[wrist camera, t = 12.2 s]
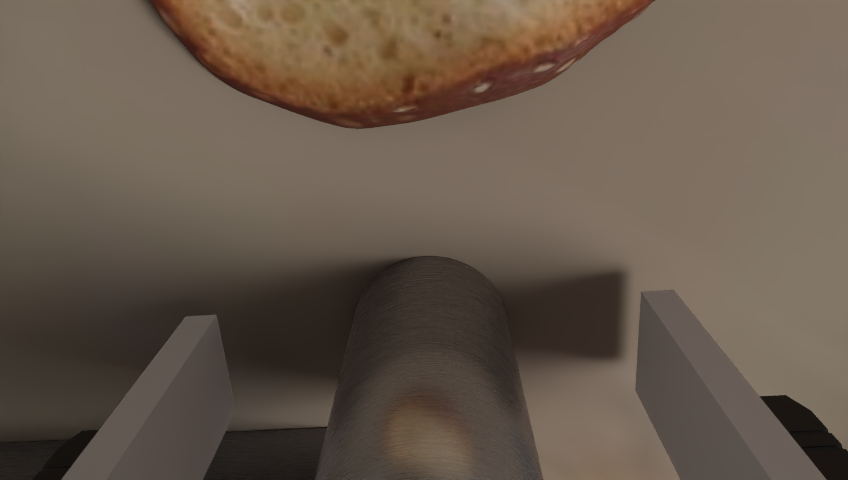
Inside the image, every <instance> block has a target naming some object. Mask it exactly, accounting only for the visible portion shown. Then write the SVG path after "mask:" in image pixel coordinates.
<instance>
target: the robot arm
mask: <svg viewBox="0 0 848 480" xmlns="http://www.w3.org/2000/svg"><path fill="white" fill-rule="evenodd" d="M635 390H636V392H637V394H638V396H639V398H640V400H641V402H642V404H643V406H644V408H645V410H646V412H647V414H648V416H649V418H650V420H651V422H652V424H653V426H654V428H655V430H656V432H657V434H658V436H659V438H660V440H661V442H662V444H663V446H664V448H665V450H666V452H667V453H668V455H669V457H670V459H671V461H672V463H673V465H674V467H675V469H676V471H677V473H678V475H679V477H680V479H681V480H848V451H847V450H846V449H843V448H842V445H841V443H840V442H839V441H838V440H837V439H836V438H835V437H834V436H833V435H832V433H828V429H827V428H826V427H825V426H824V425H823V423H822V422H821V421H820V420H819V419H818V418H817V417H816V416H815V415H814V413H813V412H812V411H811V410H809V409H807V408H806V407H804V406H802V405H801V404H799V403H798V402H796V401H794V400H793V399H791V398H789V397H788V396H786V395H779V396H759V395H758V394H757V393H756V391H755V390H754V389H753V388H752V387H751V385H750V384H749V383H748V382H747V380H746V379H745V378H744V377H743V375H742V374H741V373H740V372H739V370H738V369H737V368H736V367H735V365H734V364H733V363H732V362H731V360H730V359H729V358H728V357H727V355H726V354H725V353H724V352H723V350H722V349H721V348H720V347H719V346H718V344H717V343H716V342H715V341H714V339H713V338H712V337H711V336H710V334H709V333H708V332H707V331H706V329H705V328H704V327H703V326H702V324H701V323H700V322H699V321H698V319H697V318H696V317H695V316H694V314H693V313H692V312H691V311H690V309H689V308H688V307H687V306H686V305H685V303H684V302H683V301H682V300H681V298H680V297H679V296H678V295H677V293H676V292H675V291H674V290H662V291H644V292H641V302H640V319H639V337H638V354H637V371H636V389H635ZM235 411H236V408H235V403H234V398H233V393H232V388H231V383H230V378H229V373H228V368H227V363H226V358H225V353H224V348H223V344H222V339H221V334H220V329H219V324H218V319H217V315H201V316H186V317H185V318H184V319H183V321H182V322H181V323H180V324H179V326H178V327H177V328H176V330H175V331H174V332H173V334H172V335H171V336H170V338H169V339H168V340H167V342H166V343H165V344H164V345H163V347H162V348H161V349H160V351H159V352H158V353H157V355H156V356H155V357H154V359H153V360H152V361H151V363H150V364H149V365H148V366H147V368H146V369H145V370H144V372H143V373H142V374H141V376H140V377H139V378H138V380H137V381H136V382H135V384H134V385H133V386H132V387H131V389H130V390H129V391H128V393H127V394H126V395H125V397H124V398H123V399H122V401H121V402H120V403H119V405H118V406H117V407H116V408H115V410H114V411H113V412H112V414H111V415H110V416H109V418H108V419H107V420H106V422H105V423H104V424H103V425H102V427H101V428H100V429H99V430H88V431H81V432H80V433H78V434H77V435H76V436H74V437H73V438H72V439H70V440H69V441H67V442H66V443H65V444H63V445H62V446H61V447H59V448H58V449H57V450H56V452H55V453H54V454H53V455H52V456H51V458H50V459H49V460H48V461H47V463H46V464H45V465H44V466H43V467H42V471H39V472H38V474H37V475H36V476H35V477H34V478H33V480H203V478H204V476H205V474H206V472H207V470H208V468H209V466H210V463H211V461H212V459H213V457H214V455H215V453H216V451H217V449H218V447H219V444H220V442H221V440H222V438H223V436H224V434H225V432H226V430H227V427H228V425H229V423H230V421H231V419H232V417H233V415H234V413H235Z"/></svg>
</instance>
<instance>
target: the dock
mask: <svg viewBox="0 0 848 480" xmlns="http://www.w3.org/2000/svg"><path fill="white" fill-rule="evenodd" d="M326 430H327V428H312V429H291V430H270V431H249V432H228V433H225V434H224V436H223V438H222V440H221V442H220V444H219V447H218V449H217V451H216V453H215V455H214V457H213V459H212V461H211V463H210V466H209V468H208V470H207V472H206V474H205V476H204V478H203V480H314V479H315V475H316V471H317V467H318V463H319V459H320V454H321V450H322V446H323V442H324V438H325V434H326ZM67 441H69V440H59V441H38V442H16V443H0V480H33V478H34V477H35V476H36V475H37V474H38V472H39V471H42V467H43V466H44V465H45V464H46V463H47V461H48V460H49V459H50V458H51V456H52V455H53V454H54V453H55V452H56V450H57V449H58V448H59V447H61V446H62V445H63V444H65V443H66V442H67Z"/></svg>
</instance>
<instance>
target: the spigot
mask: <svg viewBox="0 0 848 480" xmlns="http://www.w3.org/2000/svg"><path fill="white" fill-rule="evenodd" d="M314 480H543V476H542V472H541V467H540V463H539V458H538V454H537V449H536V445H535V441H534V436H533V432H532V427H531V423H530V418H529V414H528V409H527V405H526V400H525V396H524V391H523V387H522V383H521V378H520V374H519V369H518V365H517V360H516V356H515V351H514V347H513V342H512V338H511V334H510V329H509V325H508V320H507V316H506V312H505V308H504V304H503V302H502V299H501V297H500V295H499V294H498V292H497V290H496V289H495V287H494V286H493V285H492V284H491V282H490V281H489V280H488V279H487V278H486V277H485V276H484V275H483V274H481V273H480V272H478V271H477V270H476V269H474V268H472V267H470V266H469V265H467V264H465V263H462V262H459V261H457V260H453V259H449V258H444V257H436V256H424V257H416V258H411V259H407V260H404V261H401V262H398V263H396V264H394V265H392V266H390V267H388V268H386V269H385V270H384V271H382V272H381V273H379V274H378V275H377V276H376V277H375V278H374V279H373V280H372V281H371V282H370V283H369V284H368V286H367V287H366V288H365V290H364V291H363V293H362V295H361V297H360V299H359V301H358V304H357V307H356V311H355V315H354V319H353V323H352V327H351V331H350V336H349V340H348V344H347V348H346V352H345V356H344V360H343V364H342V368H341V372H340V377H339V381H338V385H337V389H336V393H335V397H334V401H333V405H332V409H331V413H330V418H329V422H328V426H327V430H326V434H325V438H324V442H323V446H322V450H321V454H320V459H319V463H318V467H317V471H316V475H315V479H314Z"/></svg>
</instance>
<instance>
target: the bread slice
mask: <svg viewBox="0 0 848 480" xmlns="http://www.w3.org/2000/svg"><path fill="white" fill-rule="evenodd" d="M654 1H655V0H150V2H151V4H152V5H153V6H154V8H155V9H156V11H157V12H158V14H159V15H160V16H161V18H162V19H163V20H164V22H165V23H166V24H167V26H168V27H169V28H170V29H171V30H172V32H173V33H174V34H175V35H176V36H177V37H178V38H179V39H180V41H181V42H182V43H183V44H184V45H185V46H186V47H187V49H188V50H189V51H190V52H191V53H192V54H193V55H194V57H195V58H196V59H197V60H198V61H199V62H200V63H201V64H202V65H203V66H204V67H205V68H206V69H207V70H209V71H210V72H211V73H212V74H213V75H215V76H216V77H217V78H219V79H220V80H222V81H223V82H225V83H226V84H228V85H229V86H231V87H232V88H234V89H236V90H238V91H240V92H242V93H245V94H247V95H249V96H251V97H254V98H257V99H260V100H262V101H265V102H268V103H270V104H273V105H276V106H279V107H281V108H284V109H286V110H289V111H292V112H295V113H297V114H301V115H304V116H306V117H310V118H312V119H316V120H319V121H322V122H325V123H329V124H333V125H337V126H341V127H346V128H355V129H362V128H373V127H381V126H388V125H396V124H403V123H409V122H415V121H420V120H424V119H428V118H432V117H436V116H440V115H444V114H447V113H451V112H454V111H458V110H461V109H465V108H469V107H473V106H476V105H480V104H484V103H488V102H493V101H496V100H500V99H503V98H506V97H509V96H513V95H516V94H519V93H521V92H524V91H527V90H530V89H533V88H535V87H538V86H540V85H543V84H545V83H547V82H548V81H550V80H552V79H553V78H555V77H557V76H558V75H560V74H561V73H563V72H564V71H566V70H567V69H568V68H570V67H571V66H572V65H573V64H575V63H576V62H577V61H578V60H580V59H581V58H582V57H583V56H584V55H585V54H587V53H588V52H589V51H590V50H591V49H592V48H594V47H595V46H596V45H597V44H599V43H600V42H601V41H603V40H604V39H605V38H607V37H608V36H610V35H611V34H613V33H614V32H616V31H617V30H619V29H620V28H622V27H623V26H625V25H626V24H628V23H629V22H631V21H632V20H633V19H634V18H636V17H637V16H638V15H640V14H641V13H642V12H643V11H644V10H645V9H646V8H648V6H649V5H650V4H651V3H652V2H654Z"/></svg>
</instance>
